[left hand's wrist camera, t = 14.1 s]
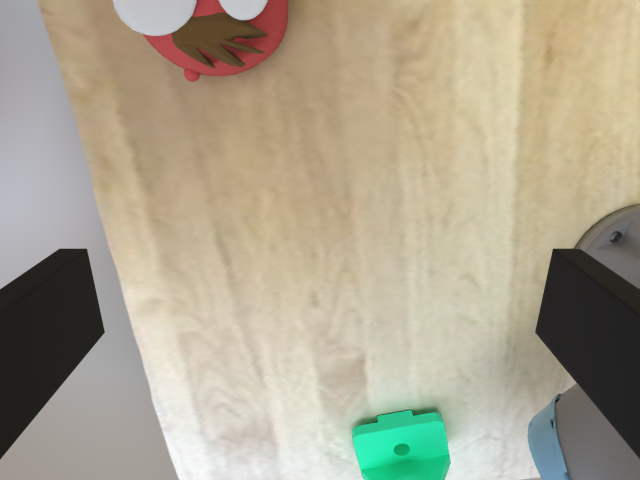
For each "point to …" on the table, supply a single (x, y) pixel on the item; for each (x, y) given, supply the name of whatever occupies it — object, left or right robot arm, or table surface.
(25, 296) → the left robot arm
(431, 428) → the camera mount
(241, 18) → the toy
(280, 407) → the table surface
